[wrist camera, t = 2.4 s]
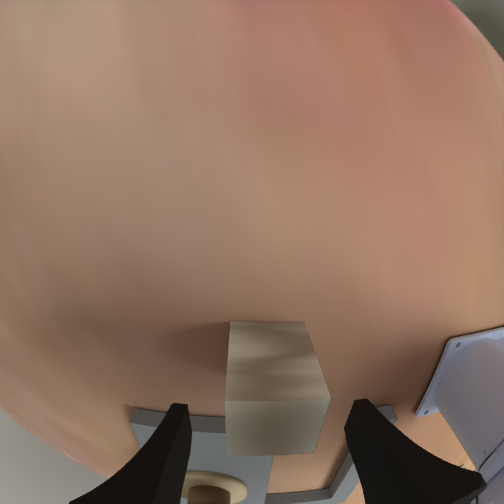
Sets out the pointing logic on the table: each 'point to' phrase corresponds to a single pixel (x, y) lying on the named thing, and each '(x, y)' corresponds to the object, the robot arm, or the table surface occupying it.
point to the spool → (212, 488)
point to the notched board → (247, 461)
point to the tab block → (273, 390)
